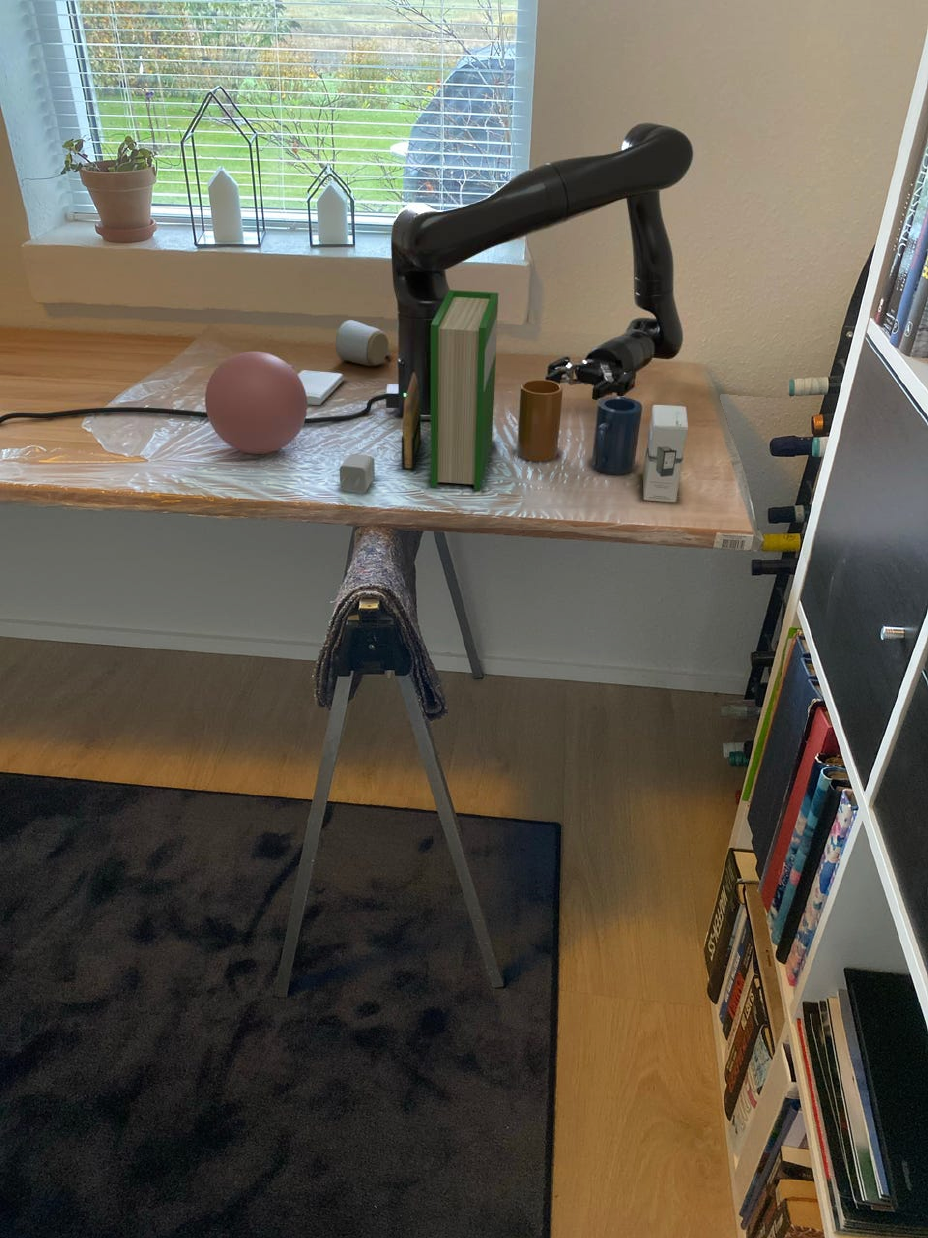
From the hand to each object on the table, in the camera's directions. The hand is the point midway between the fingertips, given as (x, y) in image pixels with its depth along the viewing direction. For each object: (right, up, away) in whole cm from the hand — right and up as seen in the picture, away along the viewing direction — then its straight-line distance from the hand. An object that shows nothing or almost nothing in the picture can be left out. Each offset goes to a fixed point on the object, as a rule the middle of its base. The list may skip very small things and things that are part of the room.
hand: (570, 388), depth 152 cm
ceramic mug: (-37, +13, +33) cm, 51 cm away
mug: (+5, -14, -7) cm, 17 cm away
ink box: (+12, -18, -12) cm, 25 cm away
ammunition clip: (-26, -12, -4) cm, 29 cm away
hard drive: (-45, +4, +19) cm, 49 cm away
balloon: (-49, -10, -1) cm, 50 cm away
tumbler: (-6, -11, -2) cm, 13 cm away
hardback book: (-18, -14, -6) cm, 23 cm away
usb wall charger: (-33, -19, -14) cm, 41 cm away
